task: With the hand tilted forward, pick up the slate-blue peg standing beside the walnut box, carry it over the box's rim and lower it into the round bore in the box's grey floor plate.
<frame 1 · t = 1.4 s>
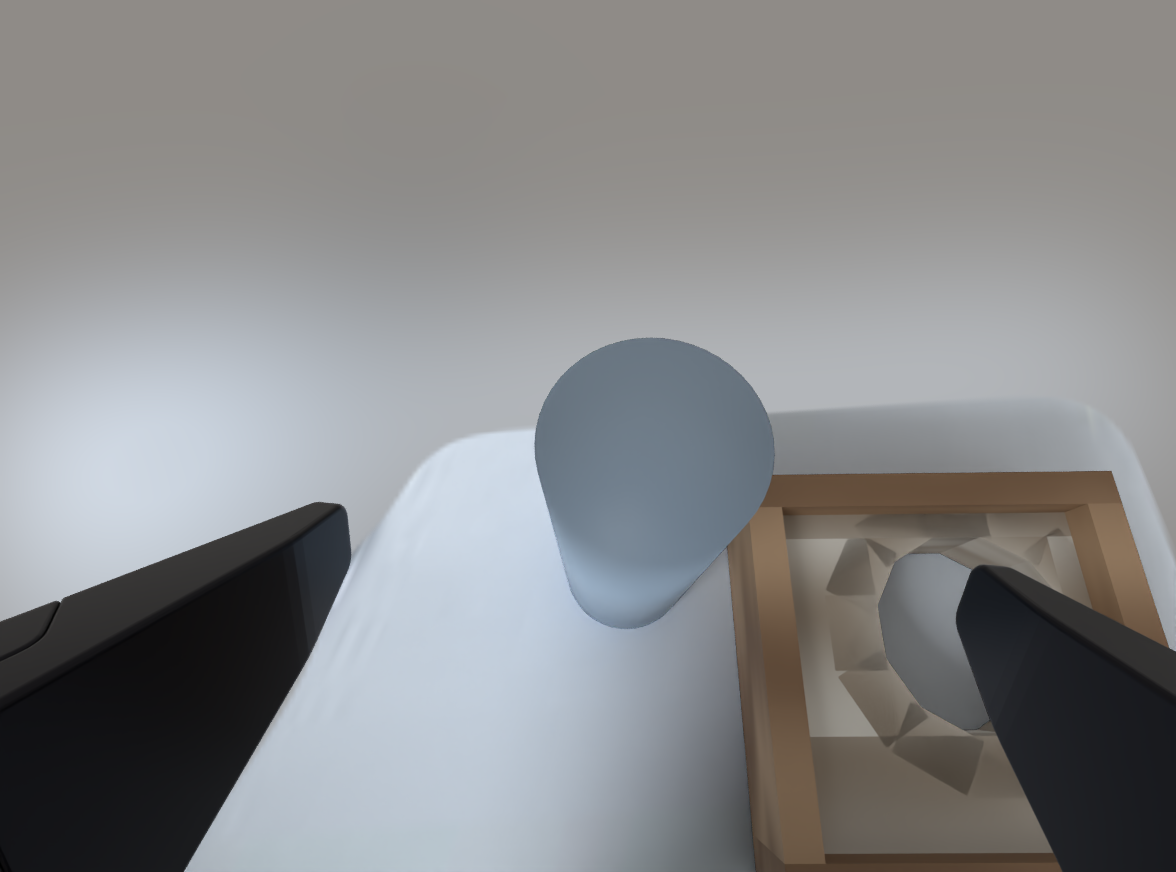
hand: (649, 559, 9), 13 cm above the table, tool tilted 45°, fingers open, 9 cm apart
peg: (625, 568, 22), on the table
walnut box: (909, 670, 20), on the table
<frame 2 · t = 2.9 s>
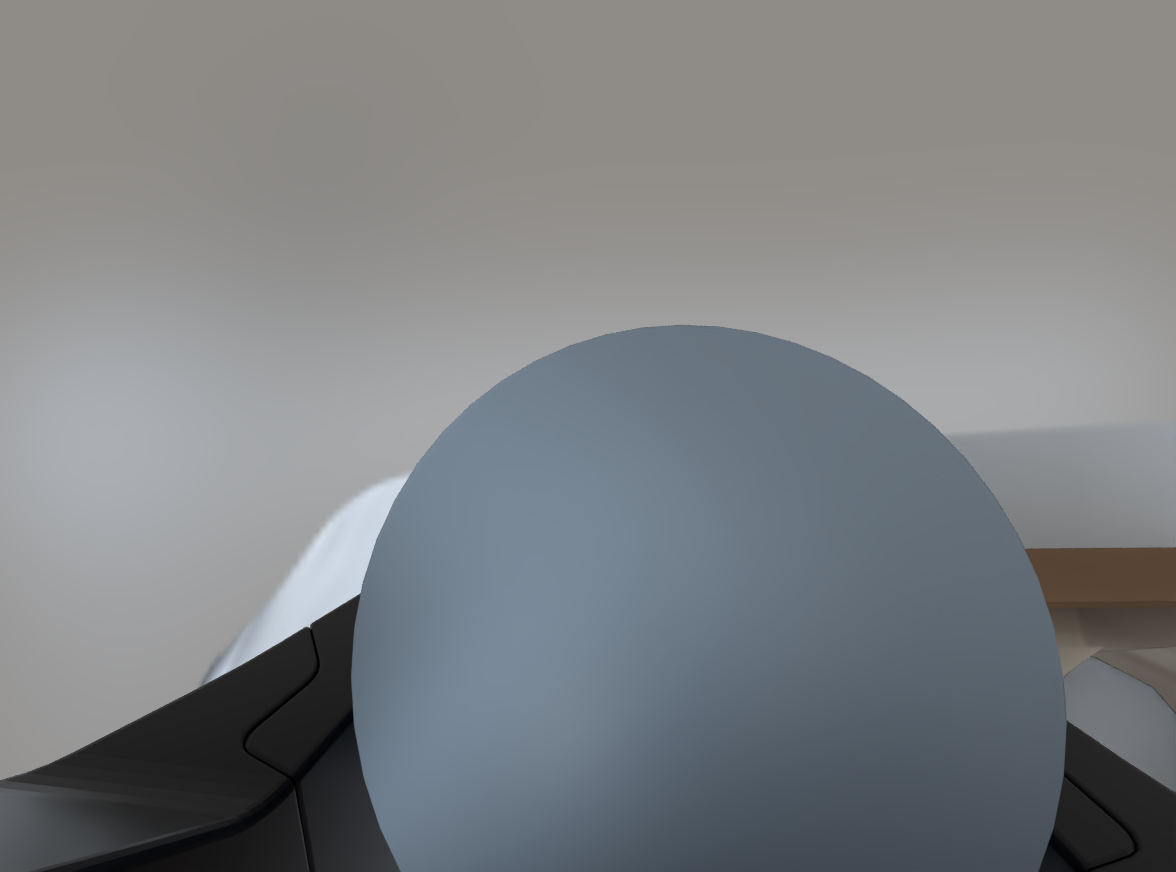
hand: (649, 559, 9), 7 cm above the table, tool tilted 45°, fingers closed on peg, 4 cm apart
peg: (624, 674, 15), on the table, touching gripper
walnut box: (1057, 841, 13), on the table
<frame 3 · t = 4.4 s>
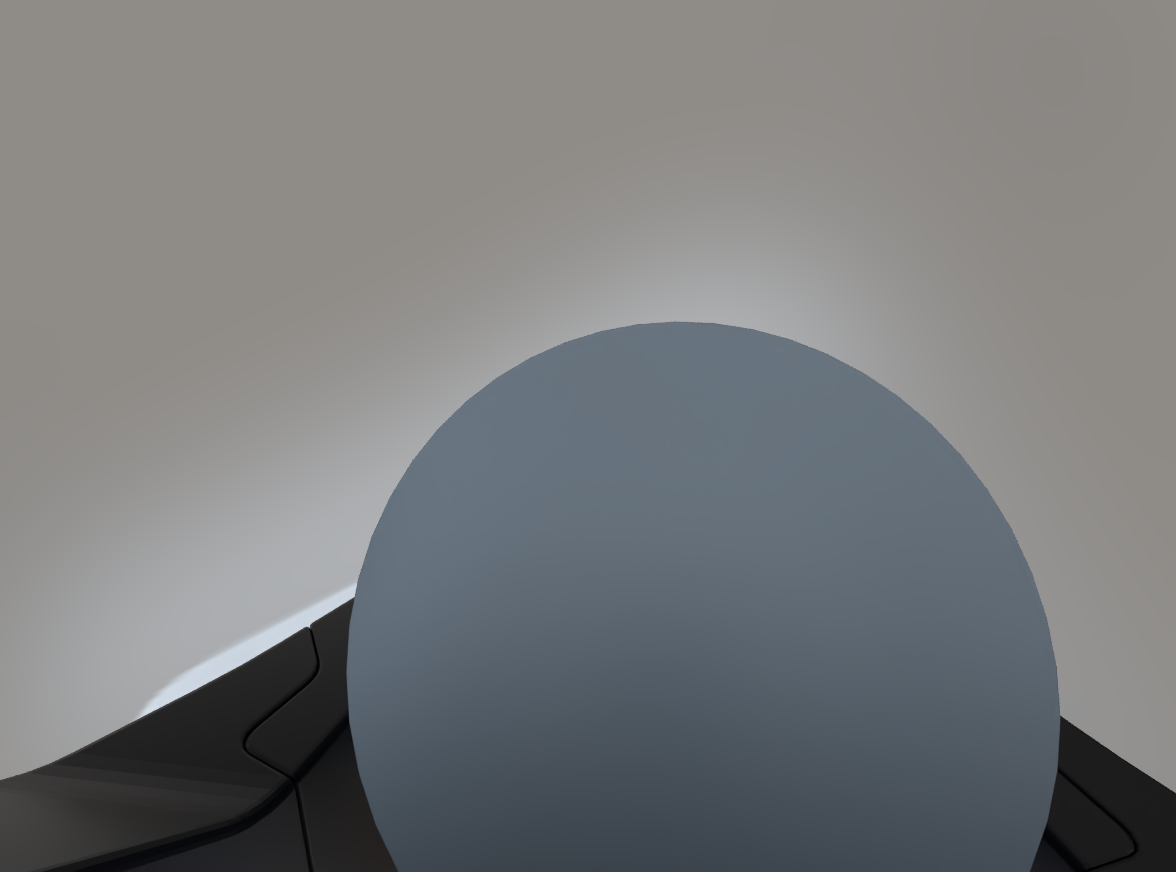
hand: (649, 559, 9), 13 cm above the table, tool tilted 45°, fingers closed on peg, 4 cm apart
peg: (623, 672, 15), point 6 cm above the table, touching gripper
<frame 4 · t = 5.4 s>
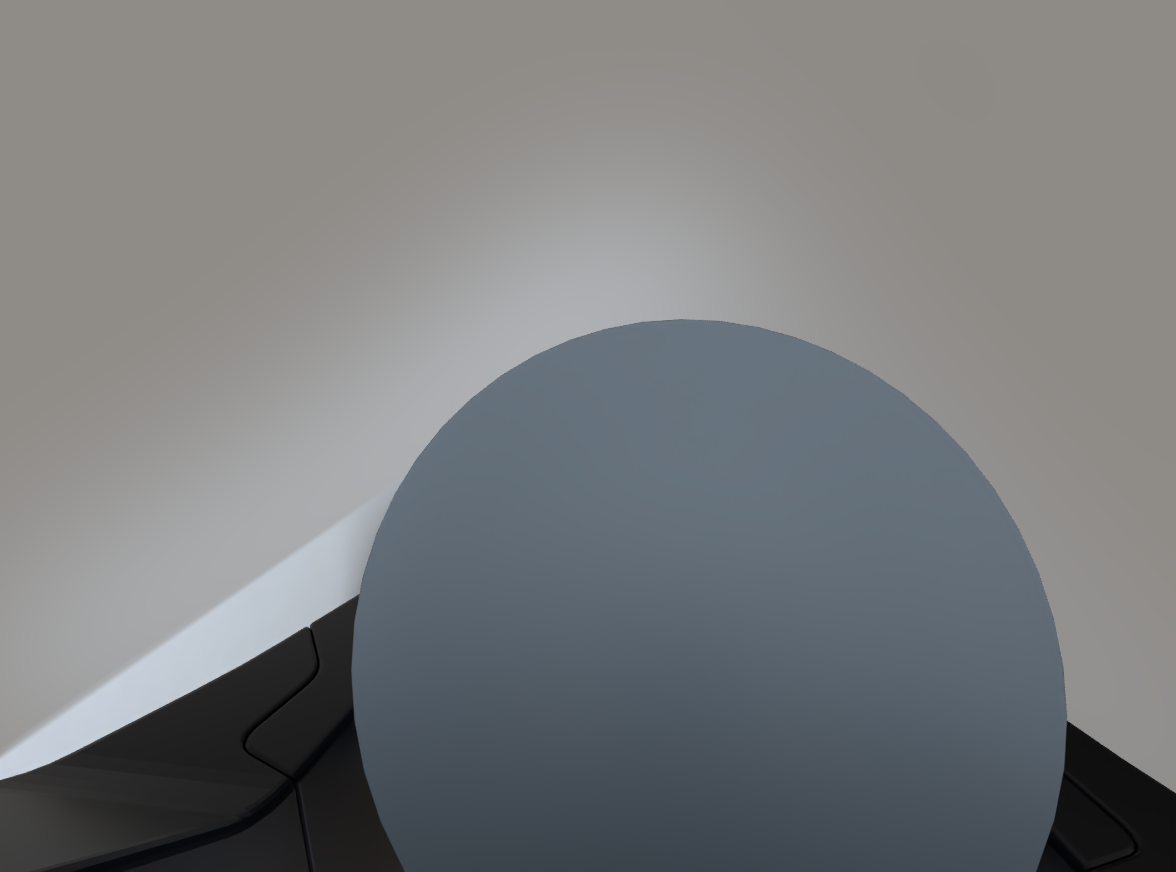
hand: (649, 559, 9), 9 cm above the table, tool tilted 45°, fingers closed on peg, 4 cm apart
peg: (624, 672, 15), point 3 cm above the table, touching gripper
when the fingers open (8 cm above the table, at t = 6.1 s): peg drops 1 cm, resting in walnut box.
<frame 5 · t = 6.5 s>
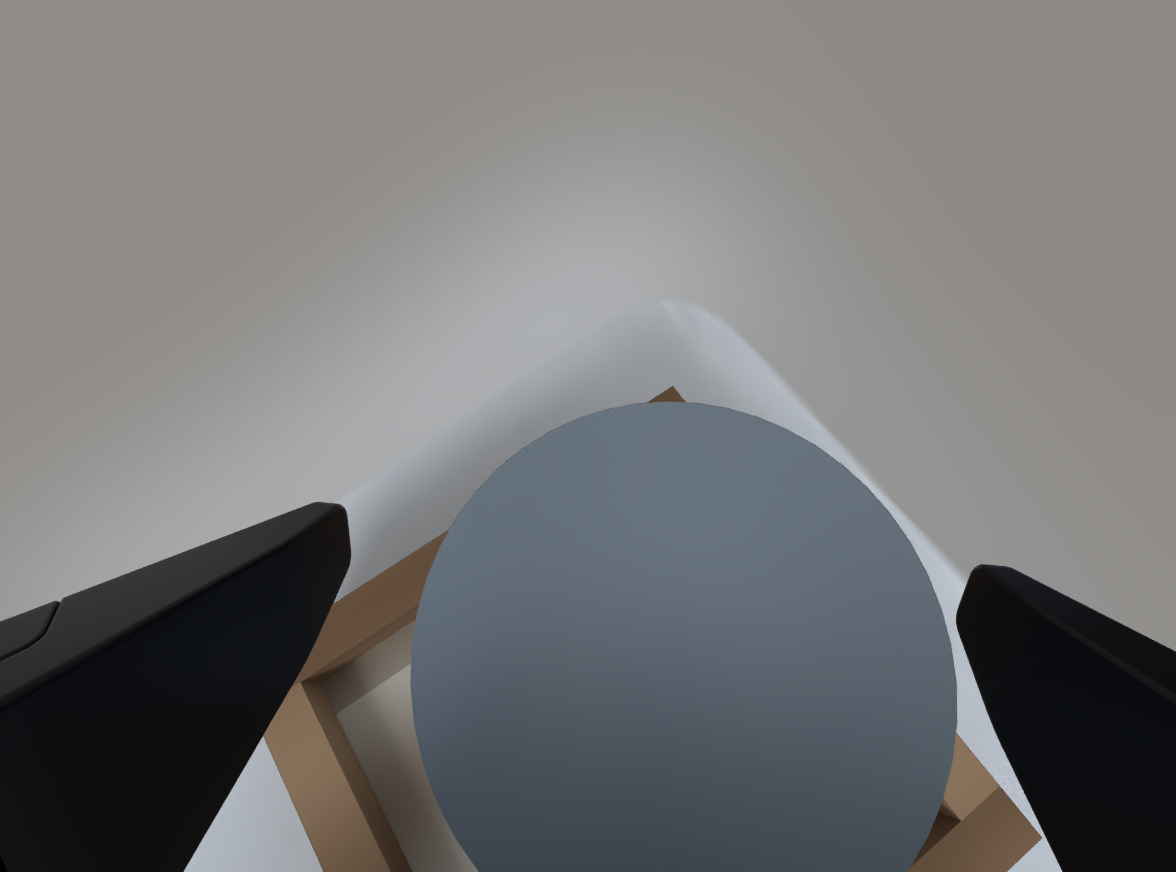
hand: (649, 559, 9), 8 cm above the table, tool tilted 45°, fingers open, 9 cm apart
peg: (622, 676, 16), resting in walnut box
walnut box: (612, 736, 15), on the table
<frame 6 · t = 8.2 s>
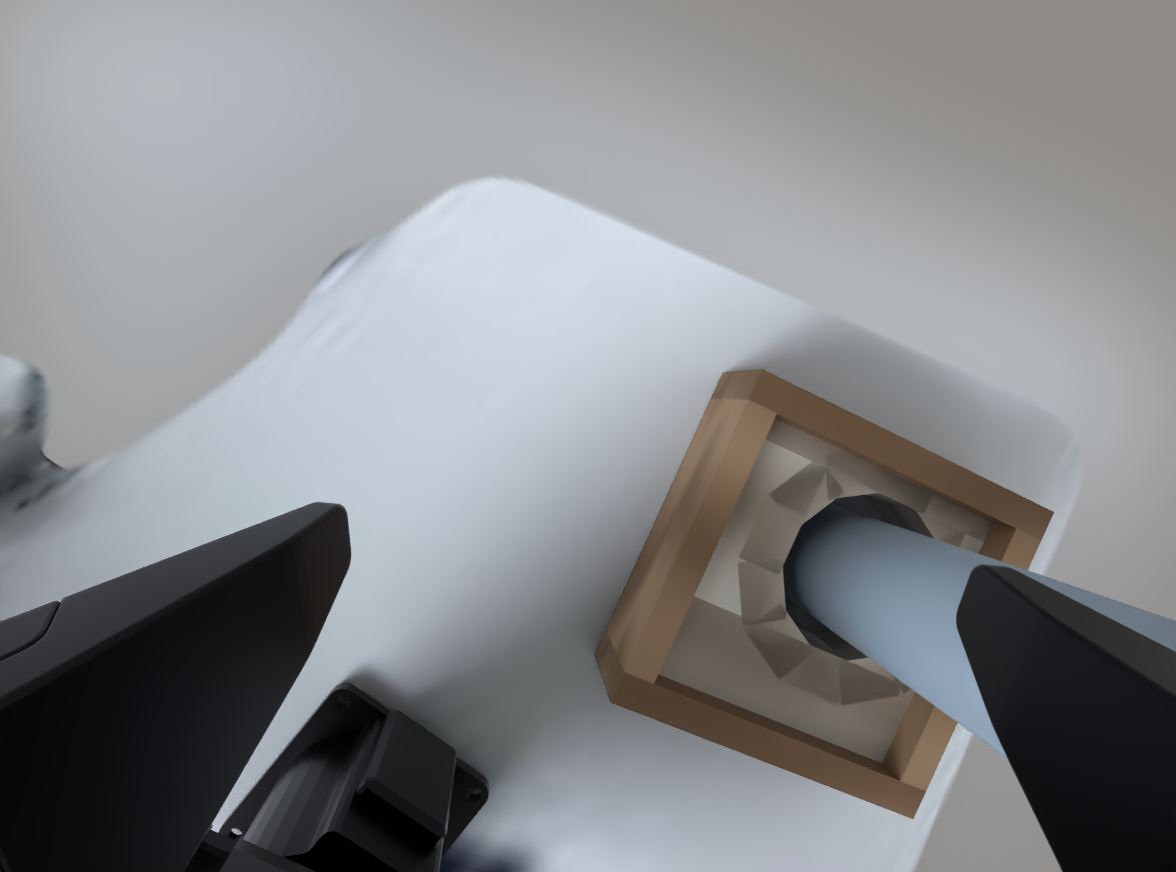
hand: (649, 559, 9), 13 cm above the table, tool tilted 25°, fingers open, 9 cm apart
peg: (824, 558, 24), resting in walnut box
walnut box: (791, 572, 23), on the table
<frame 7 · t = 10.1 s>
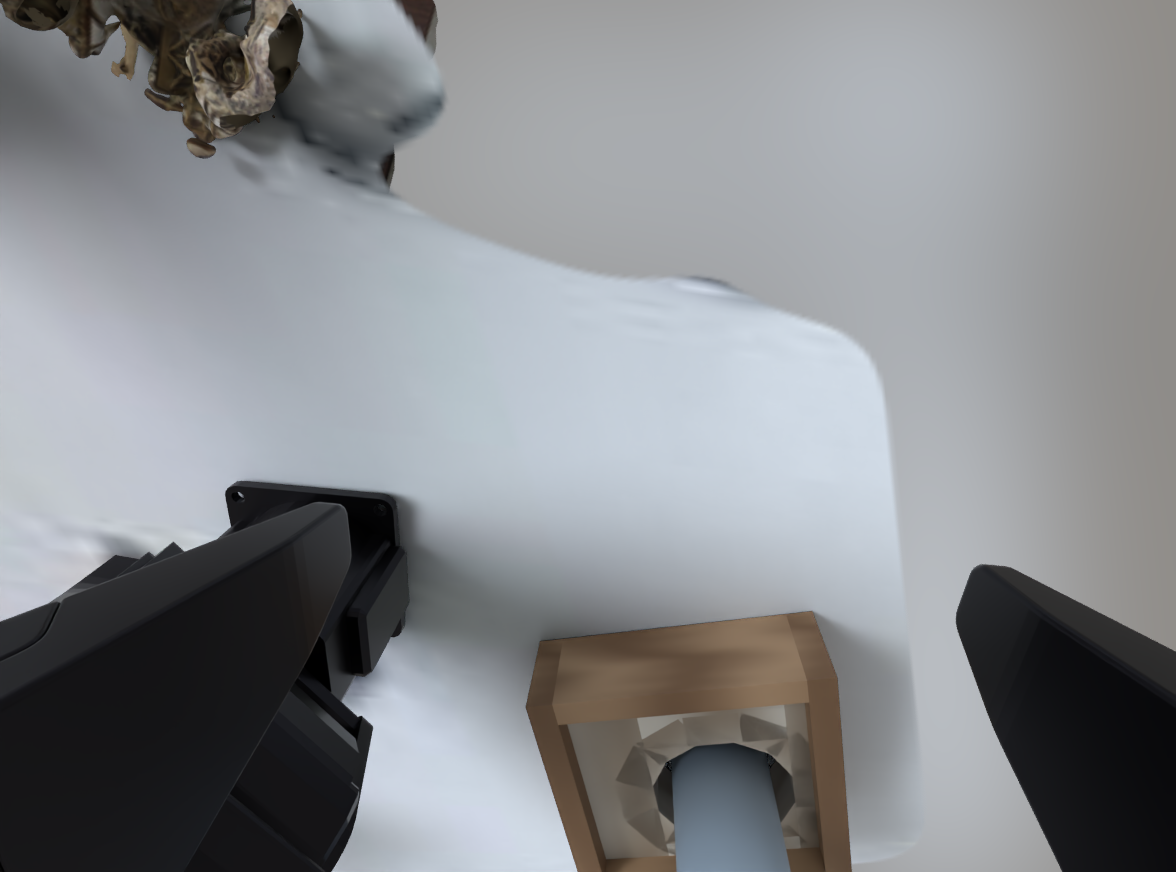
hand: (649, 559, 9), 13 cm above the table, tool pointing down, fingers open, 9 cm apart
peg: (716, 741, 28), resting in walnut box
walnut box: (691, 727, 28), on the table
crumpled brown clump: (251, 27, 19), on the table
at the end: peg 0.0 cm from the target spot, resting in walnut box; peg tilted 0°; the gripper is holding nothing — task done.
